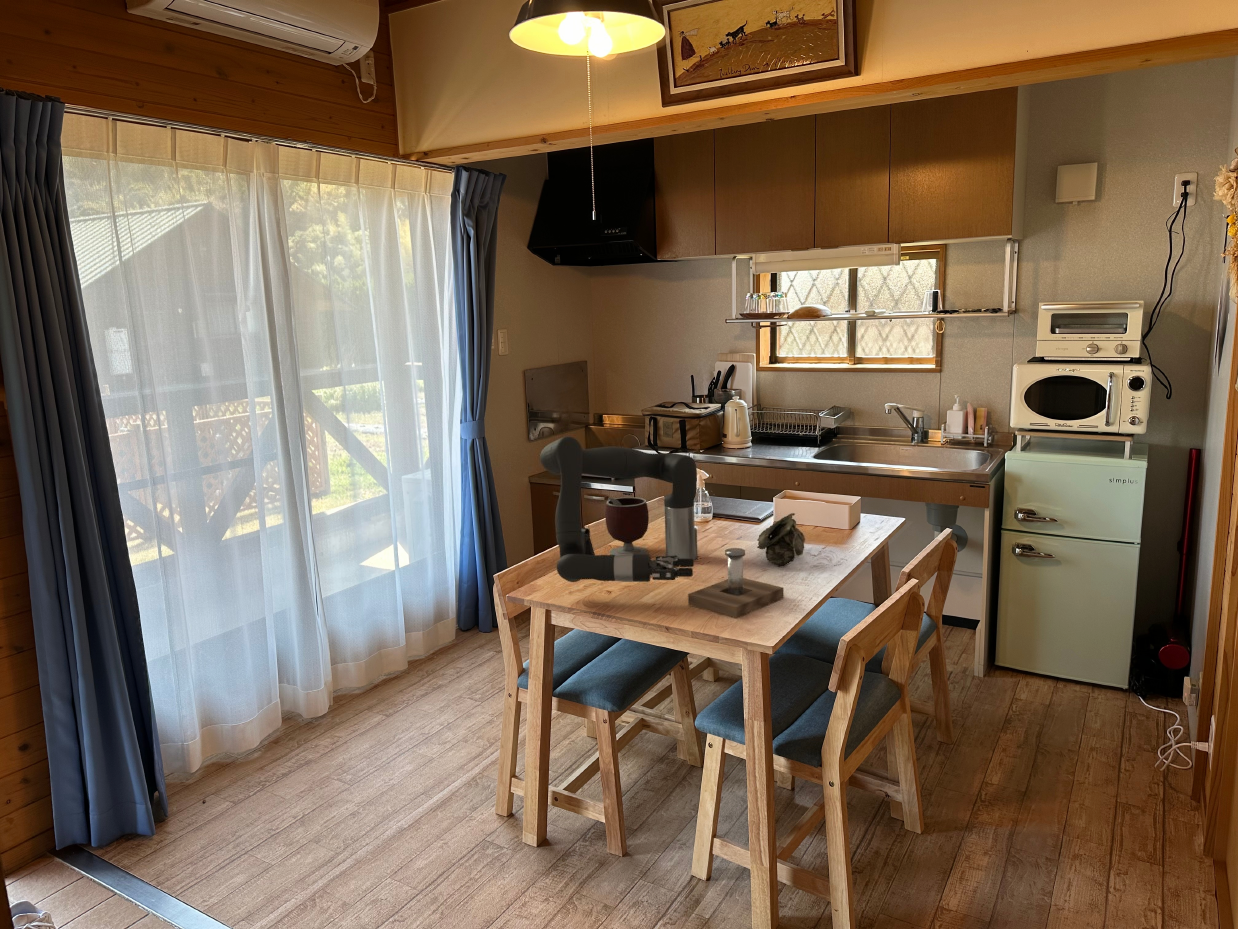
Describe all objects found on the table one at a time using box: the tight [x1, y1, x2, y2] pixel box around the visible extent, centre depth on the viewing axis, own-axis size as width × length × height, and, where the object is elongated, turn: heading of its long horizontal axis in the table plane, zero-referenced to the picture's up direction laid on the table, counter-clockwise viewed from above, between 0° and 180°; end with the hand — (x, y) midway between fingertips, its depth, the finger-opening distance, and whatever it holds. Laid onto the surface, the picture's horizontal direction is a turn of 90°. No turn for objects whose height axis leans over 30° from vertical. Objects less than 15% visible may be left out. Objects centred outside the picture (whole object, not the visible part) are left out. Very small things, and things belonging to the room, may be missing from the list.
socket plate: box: [687, 577, 785, 620], centre depth 227 cm, size 20×16×3 cm
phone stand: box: [581, 527, 596, 555], centre depth 265 cm, size 9×6×12 cm, turn 147°
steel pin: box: [724, 547, 746, 596], centre depth 226 cm, size 5×5×14 cm
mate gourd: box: [604, 496, 650, 555], centre depth 275 cm, size 16×14×20 cm
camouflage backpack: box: [756, 512, 806, 568], centre depth 263 cm, size 28×13×15 cm
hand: (693, 567), depth 227 cm, fingers open, 8 cm apart
